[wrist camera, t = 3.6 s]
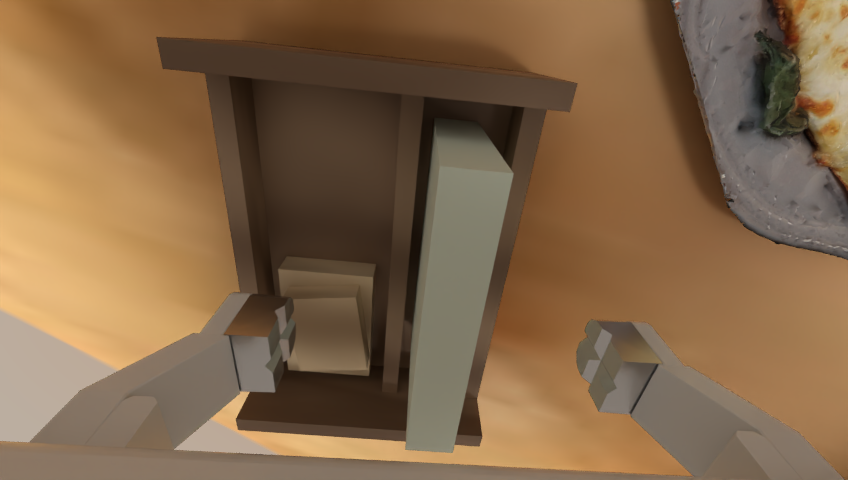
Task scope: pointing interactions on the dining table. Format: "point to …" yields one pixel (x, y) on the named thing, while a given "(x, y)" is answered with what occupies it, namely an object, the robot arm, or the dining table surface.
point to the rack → (354, 198)
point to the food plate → (775, 112)
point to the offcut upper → (329, 328)
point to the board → (453, 276)
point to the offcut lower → (332, 274)
